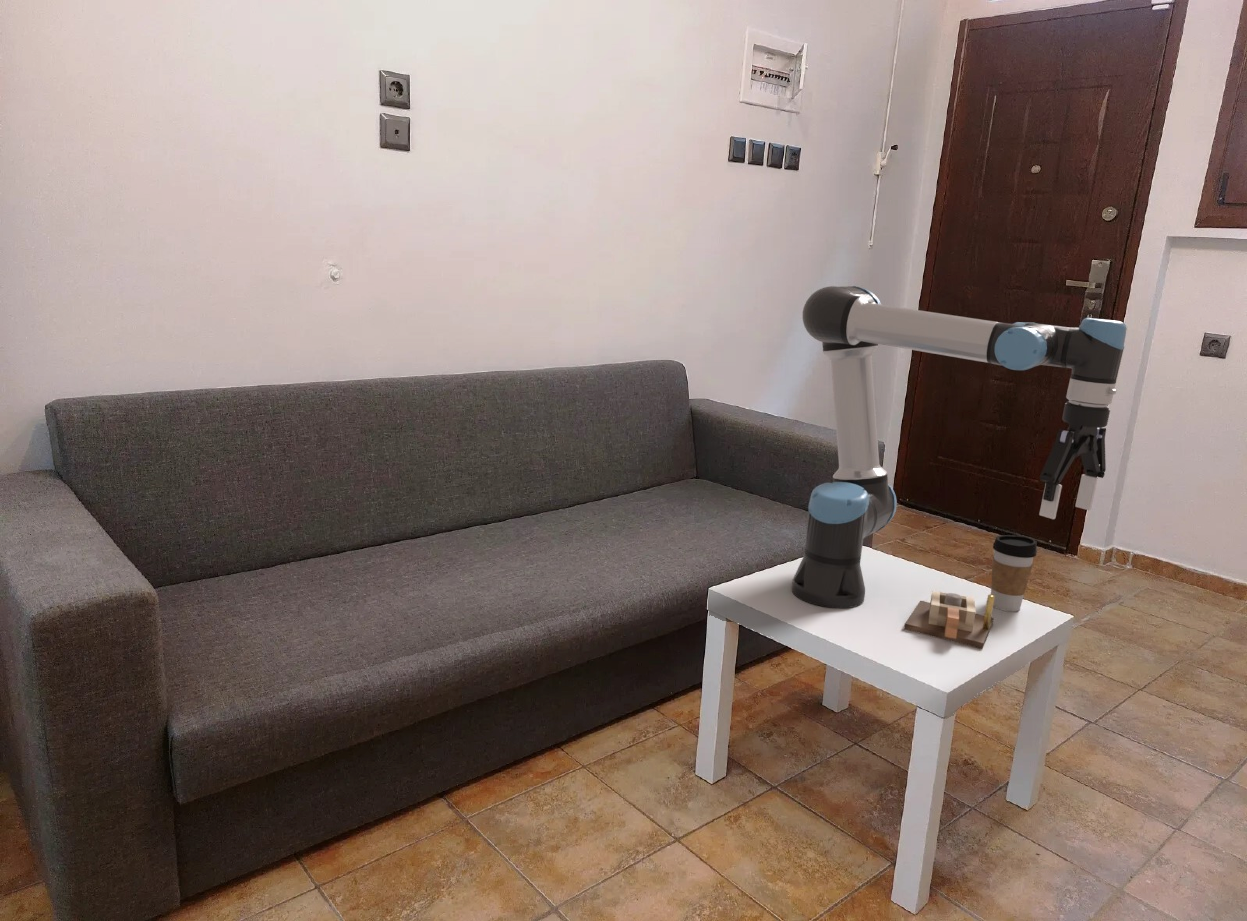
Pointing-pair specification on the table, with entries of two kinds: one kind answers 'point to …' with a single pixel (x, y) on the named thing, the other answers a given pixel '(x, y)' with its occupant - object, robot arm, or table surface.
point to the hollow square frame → (951, 614)
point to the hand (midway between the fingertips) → (1065, 512)
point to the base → (921, 625)
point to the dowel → (988, 612)
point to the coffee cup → (1011, 570)
